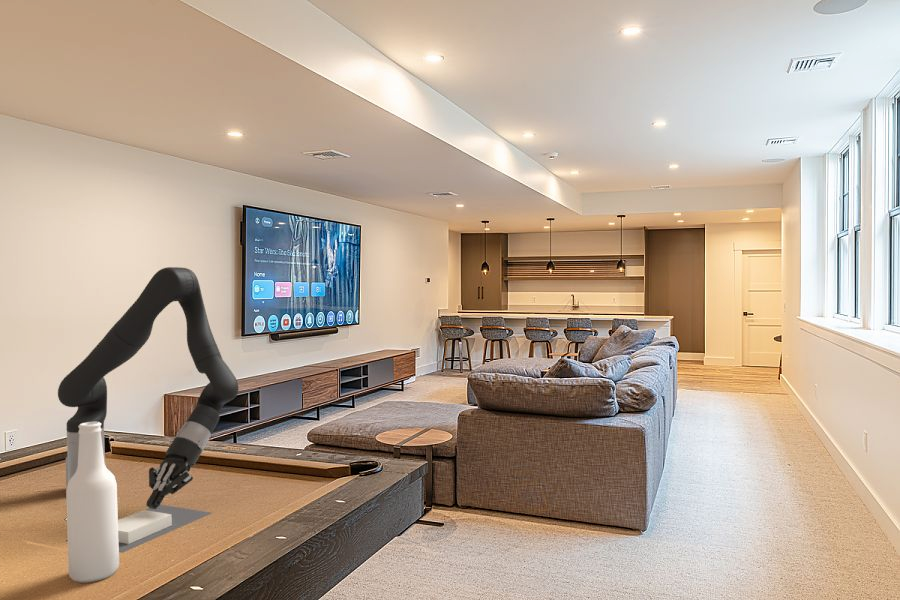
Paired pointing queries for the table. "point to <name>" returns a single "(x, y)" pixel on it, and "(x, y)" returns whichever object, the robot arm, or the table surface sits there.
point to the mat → (178, 520)
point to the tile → (142, 525)
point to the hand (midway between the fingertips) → (150, 507)
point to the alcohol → (92, 512)
